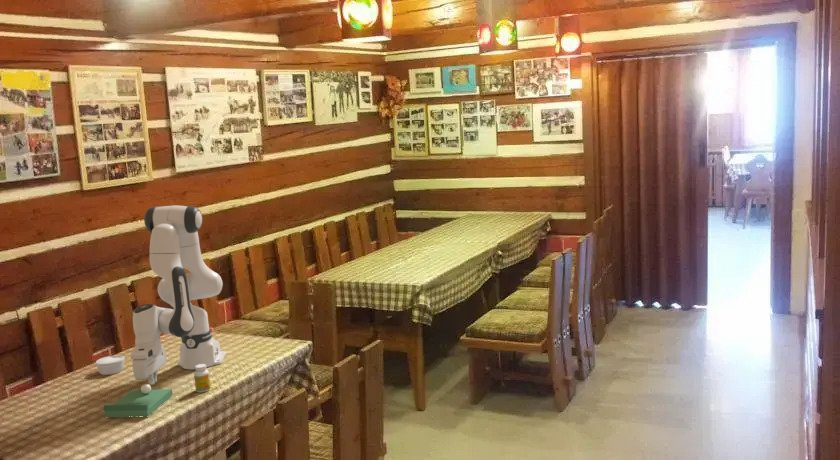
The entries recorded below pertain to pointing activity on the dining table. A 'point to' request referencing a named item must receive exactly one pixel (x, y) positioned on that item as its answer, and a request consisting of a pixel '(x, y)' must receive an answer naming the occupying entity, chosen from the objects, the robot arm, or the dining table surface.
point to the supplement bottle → (201, 378)
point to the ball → (146, 388)
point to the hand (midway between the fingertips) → (153, 383)
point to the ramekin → (110, 365)
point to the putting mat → (137, 403)
